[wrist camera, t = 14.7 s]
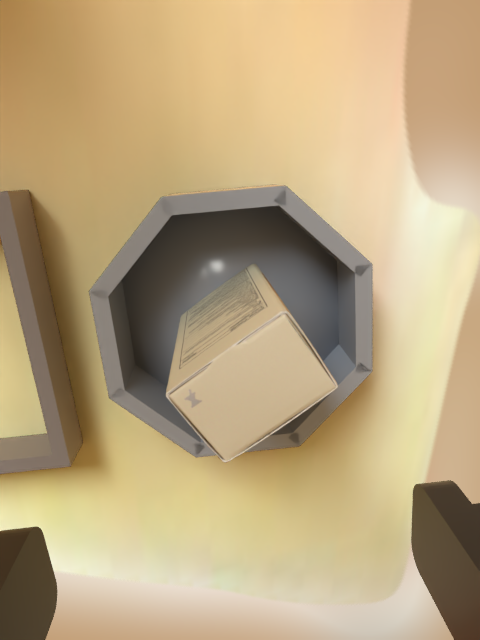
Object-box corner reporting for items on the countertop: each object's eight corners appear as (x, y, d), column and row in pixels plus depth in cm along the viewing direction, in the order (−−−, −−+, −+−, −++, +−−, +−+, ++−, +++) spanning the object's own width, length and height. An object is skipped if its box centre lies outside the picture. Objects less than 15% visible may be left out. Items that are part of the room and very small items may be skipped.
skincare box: (217, 363, 31) (219, 472, 20) (178, 314, 30) (155, 399, 19) (294, 310, 31) (344, 390, 19) (257, 257, 29) (286, 308, 18)
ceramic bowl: (96, 200, 29) (72, 204, 24) (346, 178, 29) (372, 177, 24) (134, 424, 33) (121, 465, 29) (349, 402, 34) (372, 438, 29)
